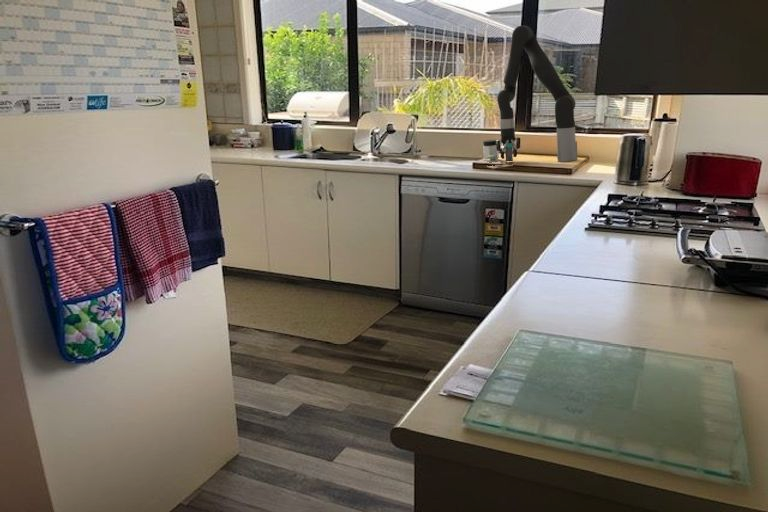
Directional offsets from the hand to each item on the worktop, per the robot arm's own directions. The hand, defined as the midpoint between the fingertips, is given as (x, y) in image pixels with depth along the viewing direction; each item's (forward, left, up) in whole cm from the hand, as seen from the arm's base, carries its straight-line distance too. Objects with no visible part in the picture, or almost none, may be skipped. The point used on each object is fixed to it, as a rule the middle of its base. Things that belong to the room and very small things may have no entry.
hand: (508, 157), depth 327 cm
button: (+8, -3, -1) cm, 9 cm away
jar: (+4, -14, -3) cm, 15 cm away
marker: (0, 0, -3) cm, 3 cm away
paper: (+9, +7, -3) cm, 12 cm away
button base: (+8, -3, -3) cm, 9 cm away
